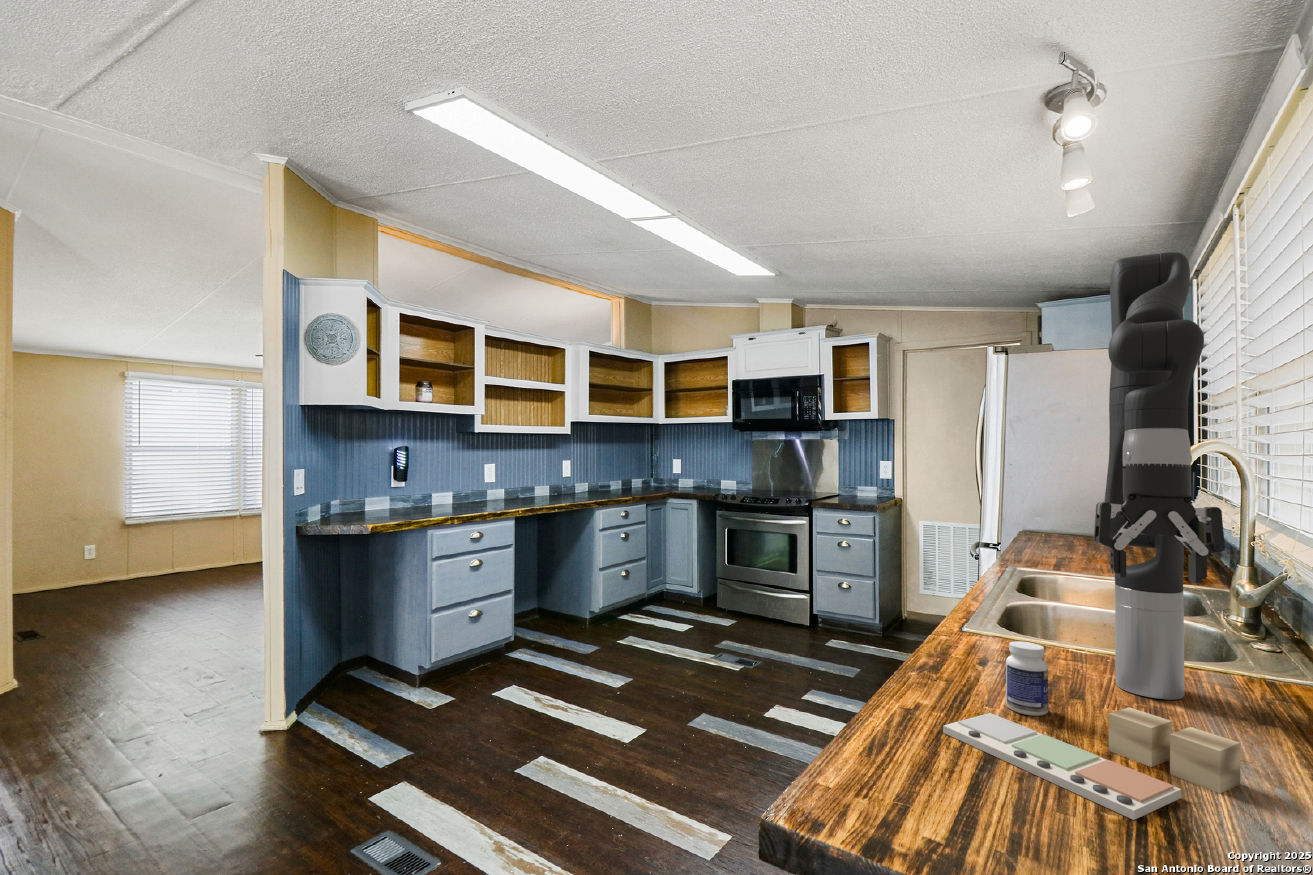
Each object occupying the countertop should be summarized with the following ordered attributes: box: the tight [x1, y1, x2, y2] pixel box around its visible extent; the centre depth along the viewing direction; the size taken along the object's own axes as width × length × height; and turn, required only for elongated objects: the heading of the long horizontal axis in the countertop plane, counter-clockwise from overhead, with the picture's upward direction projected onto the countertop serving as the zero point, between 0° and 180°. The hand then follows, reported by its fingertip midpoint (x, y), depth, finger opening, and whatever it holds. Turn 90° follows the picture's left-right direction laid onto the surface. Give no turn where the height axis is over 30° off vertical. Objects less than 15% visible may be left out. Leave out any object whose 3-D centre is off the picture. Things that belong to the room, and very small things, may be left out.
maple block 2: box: [1169, 726, 1241, 794], centre depth 78 cm, size 5×5×5 cm
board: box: [942, 712, 1182, 821], centre depth 82 cm, size 10×24×1 cm, turn 27°
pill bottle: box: [1005, 640, 1049, 717], centre depth 99 cm, size 6×6×10 cm
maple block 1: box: [1108, 706, 1173, 768], centre depth 84 cm, size 5×5×5 cm
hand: (1157, 579), depth 88 cm, fingers open, 8 cm apart
